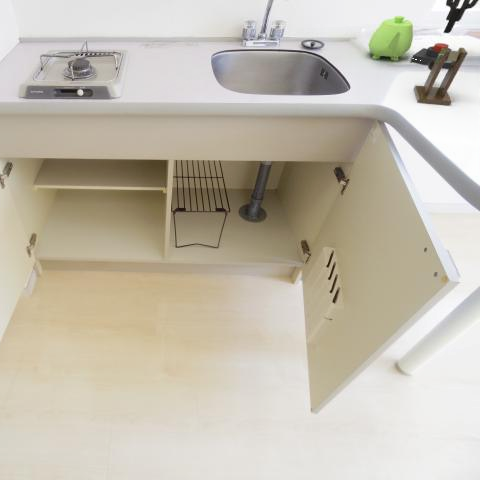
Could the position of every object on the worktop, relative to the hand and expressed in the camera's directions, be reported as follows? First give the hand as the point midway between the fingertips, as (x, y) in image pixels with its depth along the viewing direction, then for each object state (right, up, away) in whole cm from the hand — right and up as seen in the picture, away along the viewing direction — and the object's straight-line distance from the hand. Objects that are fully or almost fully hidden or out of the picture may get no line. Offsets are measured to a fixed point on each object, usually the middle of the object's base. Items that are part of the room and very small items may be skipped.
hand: (447, 32), depth 115 cm
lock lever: (-15, -20, -15) cm, 29 cm away
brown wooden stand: (-16, -27, -13) cm, 34 cm away
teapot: (-13, -2, +13) cm, 18 cm away
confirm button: (0, -4, +4) cm, 6 cm away
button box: (+1, -7, +6) cm, 9 cm away
